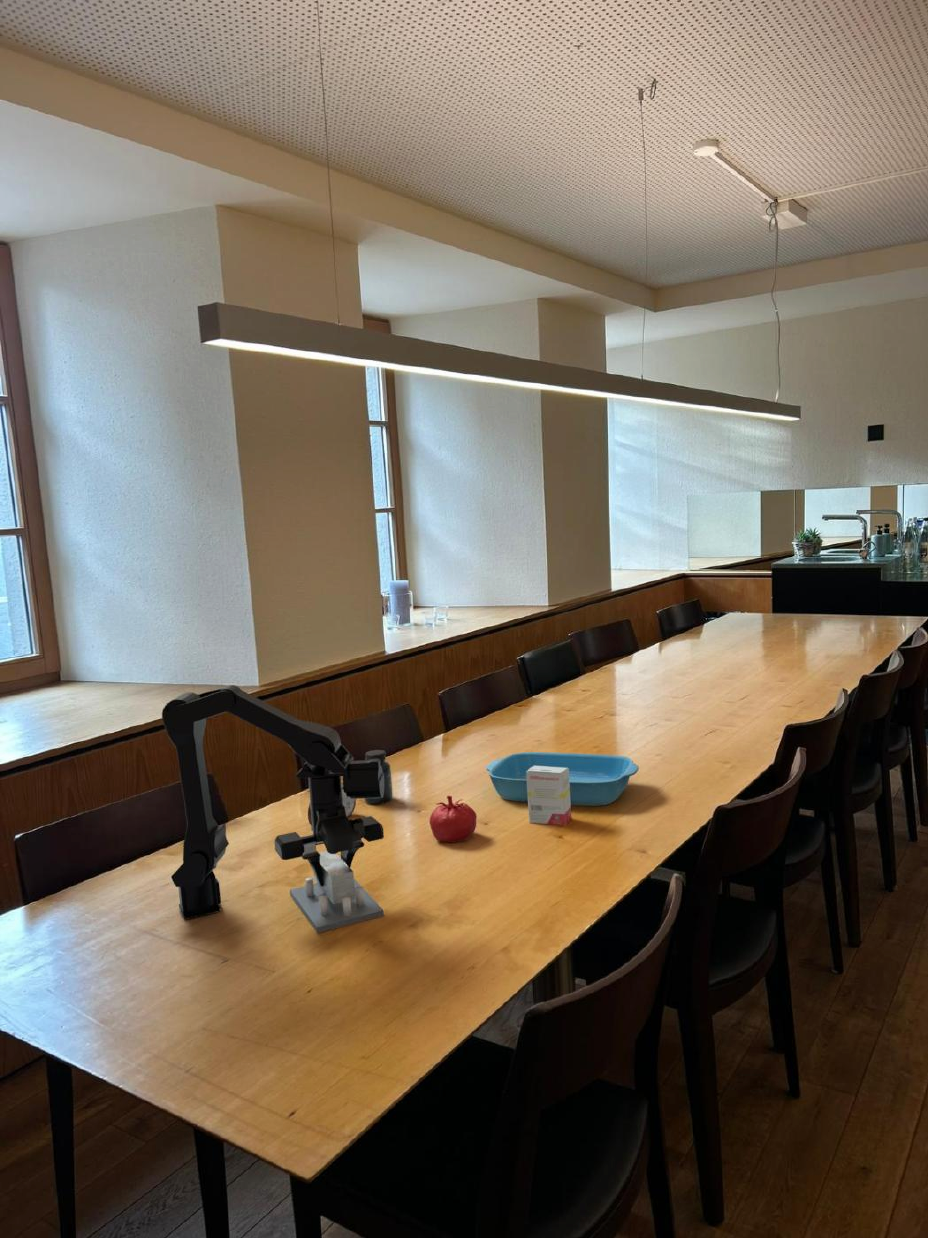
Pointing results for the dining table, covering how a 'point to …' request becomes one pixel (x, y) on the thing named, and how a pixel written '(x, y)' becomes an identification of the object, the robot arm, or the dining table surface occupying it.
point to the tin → (347, 803)
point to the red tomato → (453, 821)
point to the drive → (336, 878)
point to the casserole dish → (588, 775)
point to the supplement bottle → (387, 777)
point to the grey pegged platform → (334, 907)
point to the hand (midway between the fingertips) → (333, 883)
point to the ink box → (548, 795)
